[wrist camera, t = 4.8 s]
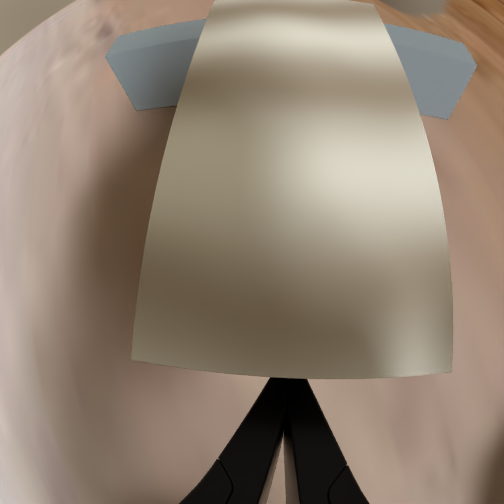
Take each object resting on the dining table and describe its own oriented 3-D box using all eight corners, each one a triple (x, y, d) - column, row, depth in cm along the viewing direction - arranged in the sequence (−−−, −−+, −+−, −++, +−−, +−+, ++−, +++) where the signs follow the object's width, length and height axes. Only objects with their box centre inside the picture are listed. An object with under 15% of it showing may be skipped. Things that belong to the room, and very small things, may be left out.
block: (365, 360, 15) (451, 372, 6) (212, 353, 16) (130, 359, 7) (352, 112, 19) (373, 4, 11) (238, 109, 20) (214, 0, 12)
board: (447, 119, 18) (476, 65, 13) (136, 110, 21) (104, 56, 15) (439, 97, 19) (463, 43, 13) (144, 89, 22) (118, 36, 16)
